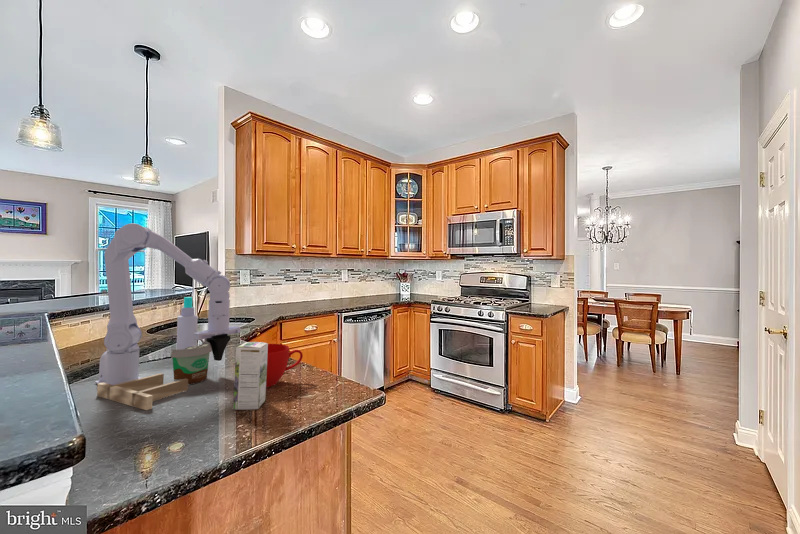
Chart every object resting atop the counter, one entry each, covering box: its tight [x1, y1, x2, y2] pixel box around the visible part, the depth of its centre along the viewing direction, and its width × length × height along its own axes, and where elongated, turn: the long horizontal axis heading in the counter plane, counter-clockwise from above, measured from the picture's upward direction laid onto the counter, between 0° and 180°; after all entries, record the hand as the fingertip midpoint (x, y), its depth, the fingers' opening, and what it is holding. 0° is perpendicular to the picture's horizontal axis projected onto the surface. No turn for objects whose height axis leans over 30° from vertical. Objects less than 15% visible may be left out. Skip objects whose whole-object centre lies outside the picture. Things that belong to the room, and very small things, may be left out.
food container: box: [170, 341, 212, 385], centre depth 101 cm, size 12×6×10 cm, turn 170°
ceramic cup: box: [266, 343, 304, 388], centre depth 101 cm, size 13×17×10 cm
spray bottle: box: [176, 296, 198, 349], centre depth 124 cm, size 6×6×22 cm
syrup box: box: [232, 341, 269, 411], centre depth 84 cm, size 6×6×14 cm
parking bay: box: [96, 372, 189, 411], centre depth 89 cm, size 20×13×3 cm, turn 66°
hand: (217, 360), depth 107 cm, fingers closed
